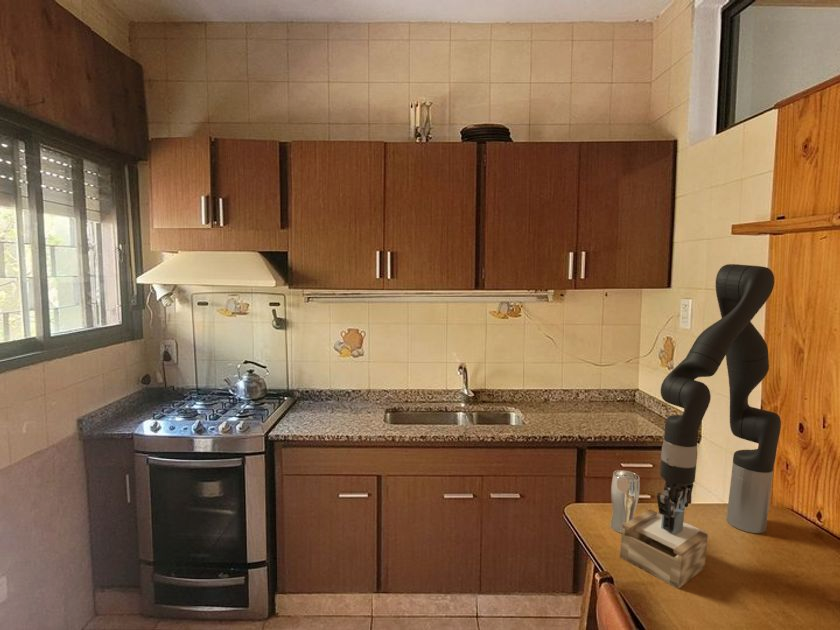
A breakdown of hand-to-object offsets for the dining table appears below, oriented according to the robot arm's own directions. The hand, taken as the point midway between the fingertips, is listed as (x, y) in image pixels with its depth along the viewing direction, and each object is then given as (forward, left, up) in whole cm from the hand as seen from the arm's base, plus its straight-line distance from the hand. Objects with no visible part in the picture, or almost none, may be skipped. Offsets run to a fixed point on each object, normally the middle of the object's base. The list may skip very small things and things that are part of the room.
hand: (672, 527), depth 118 cm
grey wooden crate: (+4, 0, -8) cm, 9 cm away
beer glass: (-3, -14, -8) cm, 16 cm away
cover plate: (0, 0, -2) cm, 2 cm away
